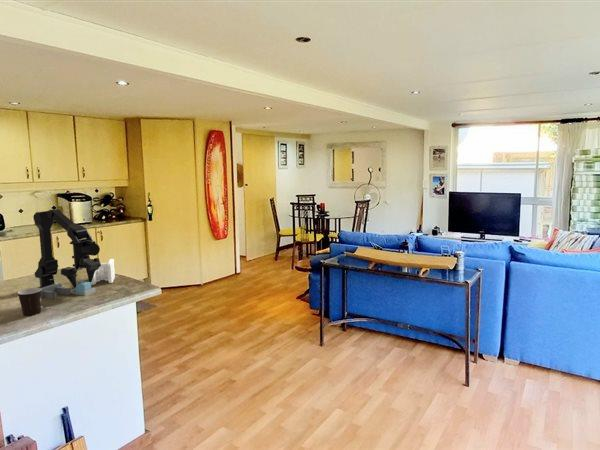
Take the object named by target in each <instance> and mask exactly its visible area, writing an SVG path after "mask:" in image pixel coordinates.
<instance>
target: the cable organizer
mask: <svg viewBox="0 0 600 450" xmlns="http://www.w3.org/2000/svg"><path fill="white" fill-rule="evenodd" d="M100 263H101V266H100V267H99V268H98V269H97V270H96V271H95V273H94V276H93V279H92V282H91V286H95V285H96V284H97V282H98V283H100V281H105V282H107V281H108V284H112V283H113V282H114V280H115V278H116V272H115V270H116V269H115V259H114V258H110V259H109V260H108V262H100Z"/></svg>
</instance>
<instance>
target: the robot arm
mask: <svg viewBox="0 0 600 450" xmlns="http://www.w3.org/2000/svg"><path fill="white" fill-rule="evenodd" d="M32 218H33V221H34V225H35V226H36V227H37V229H38V233H39V242H40V254H41V255H40V258H39V261H38V262H37V269H36V270H35V272H34V273H33V274H34V277H35V278H38V280H39V286H38V287H36V288H43V287H46V286H49V285H52V284H54V283H55V278H54V276H55V275H57V274H58V270H59V260H58V259H55V257H54V255H53V244H52V231H51V228H52V227H53V225H54V222H55V223H57V224H58V225H59V226H60V227H61V228H63V229H64V230H65V232H66V235H67V236H68V237H69V238H70V240H71V241H70V242H69V244H70V245H72V253H73V255H71V258H72V259H73V261H74V264H72V267H69V266H67V267H63V268H61V269H60V275H61V276H64V277H66V279H68V280H69V282H70V284H71V285H72V286H73V288H74V289H75V288H76V283H77V276H78V274H77V273H78V271H82V270H85V271H86V274H87V278H88V282H92V279H93V276H94V273H95V271H96V270H97V269H98V268H99V267H100V266H101V263H102V262H100V258H98V257H95V256H97V255H98V254H99V253H100V250H101V249H100V246H99V244H97V243H96V241H95V240H93V238H92V235H91V234H90V232H89V231H88V229H87V228H86V227H84V226H83V225H81V224H78V223H75V222H74V221H72V220H71V219H70V218H69V217H67V216H66V214H64V213H63V212H62V211H61V210H60V209H58V208H55V209H49V210H45V211H44V210H43V211H36V212H35V213H34V214H33V217H32ZM90 256H92V257H93V256H94V257H95V258H90Z"/></svg>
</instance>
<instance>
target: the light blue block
mask: <svg viewBox="0 0 600 450" xmlns="http://www.w3.org/2000/svg"><path fill="white" fill-rule="evenodd" d="M89 289H92V285H91V282H89V281H86V280H84V279H80V280H78V281H77V280H76V293H78V294H84V291H86V290H89ZM78 294H77V295H78Z"/></svg>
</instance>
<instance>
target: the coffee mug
mask: <svg viewBox="0 0 600 450" xmlns="http://www.w3.org/2000/svg"><path fill="white" fill-rule="evenodd" d="M17 295H18V300H19V303H20V304H19V305H20V306H21V311H22V315H23V316H25V317H32V315H33V316H37V315H39V314H41V312H42V311H41V310H42V298H41V289H40V288H37V287H31V288H30V287H29V288H25V289H21V290H18V292H17ZM36 314H37V315H36Z"/></svg>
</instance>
